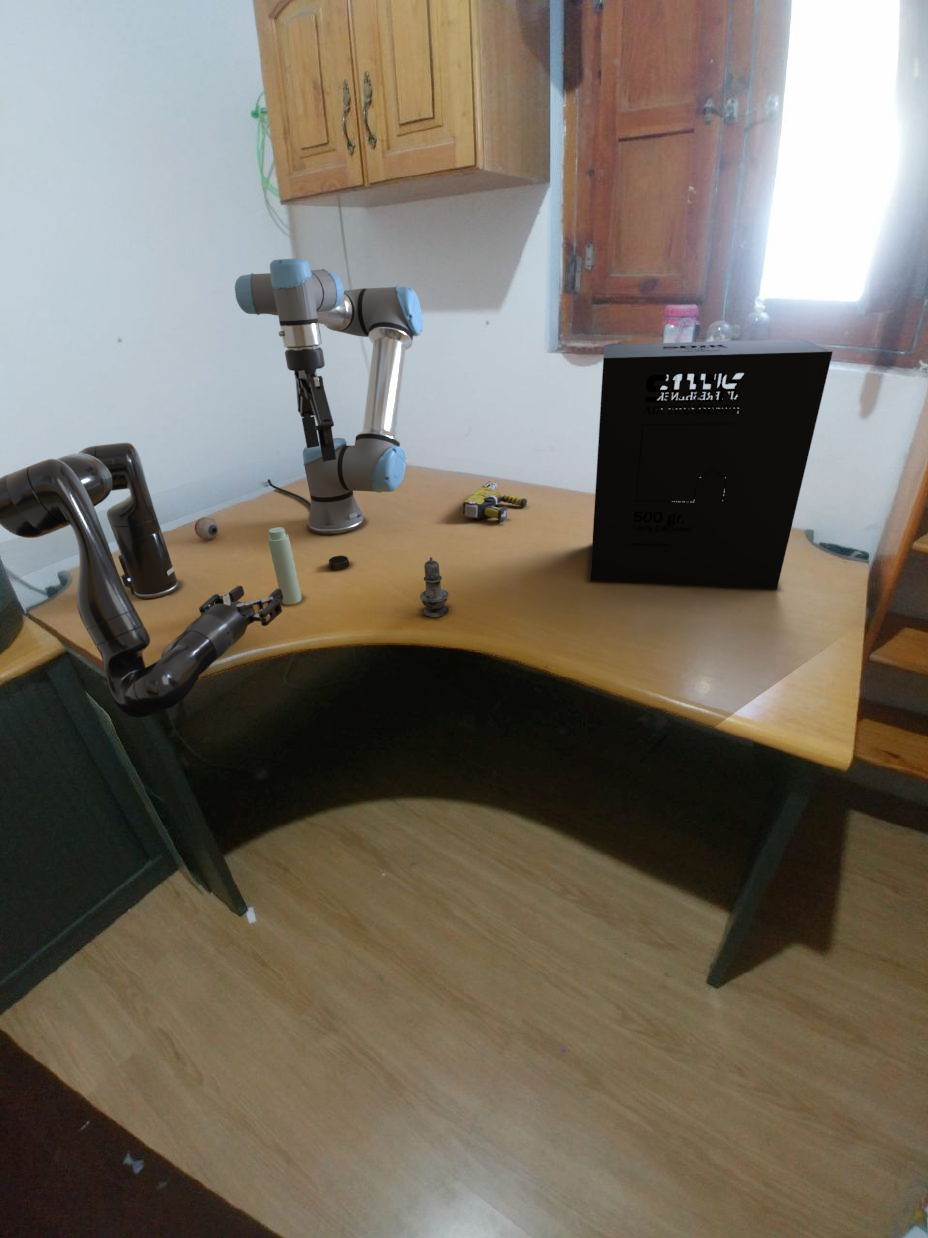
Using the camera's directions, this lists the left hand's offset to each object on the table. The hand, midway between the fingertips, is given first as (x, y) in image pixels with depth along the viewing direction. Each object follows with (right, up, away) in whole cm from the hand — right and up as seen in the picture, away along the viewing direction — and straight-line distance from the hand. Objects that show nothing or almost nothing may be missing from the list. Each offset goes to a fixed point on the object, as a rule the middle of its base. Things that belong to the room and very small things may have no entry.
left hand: (260, 591), depth 119 cm
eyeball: (-29, +16, +46) cm, 57 cm away
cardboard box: (+88, +7, +17) cm, 90 cm away
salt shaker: (+34, -4, +4) cm, 35 cm away
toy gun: (+50, +26, +55) cm, 79 cm away
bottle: (+3, -1, +12) cm, 12 cm away
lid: (+10, +8, +25) cm, 29 cm away
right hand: (+9, +31, +13) cm, 35 cm away
